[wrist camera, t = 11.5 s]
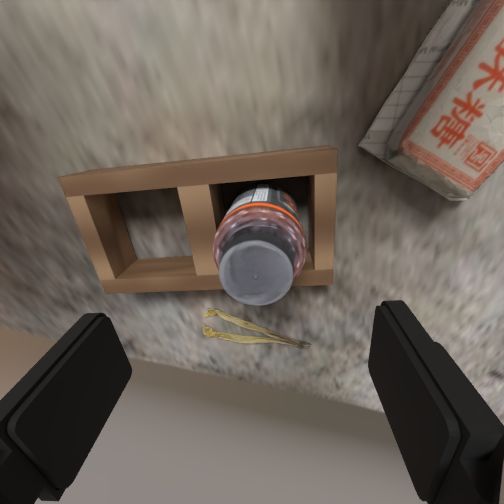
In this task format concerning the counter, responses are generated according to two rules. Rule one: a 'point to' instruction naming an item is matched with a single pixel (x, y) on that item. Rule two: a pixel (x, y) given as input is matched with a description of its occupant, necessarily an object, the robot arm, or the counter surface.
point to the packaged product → (448, 104)
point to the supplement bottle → (260, 245)
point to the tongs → (250, 339)
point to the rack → (196, 216)
